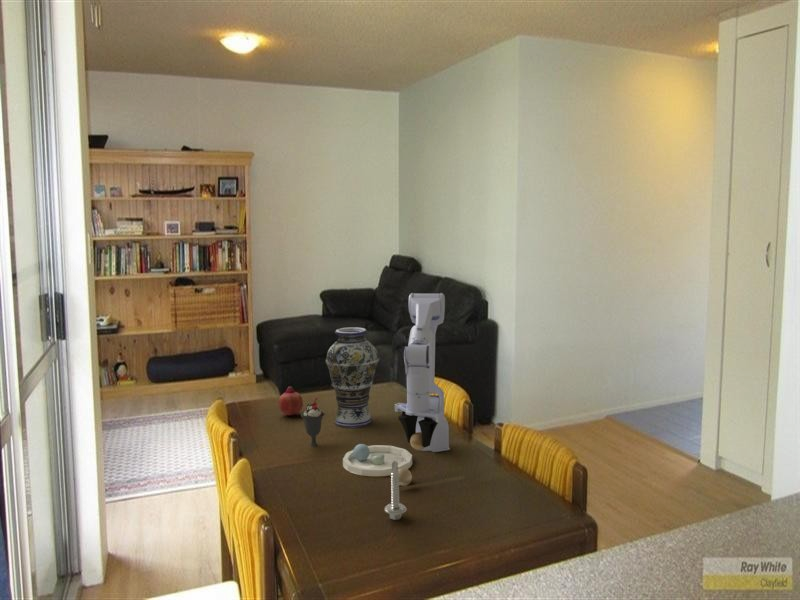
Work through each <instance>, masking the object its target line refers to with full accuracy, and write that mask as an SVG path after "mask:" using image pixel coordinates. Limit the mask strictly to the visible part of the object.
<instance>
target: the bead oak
mask: <svg viewBox="0 0 800 600" xmlns="http://www.w3.org/2000/svg"><path fill="white" fill-rule="evenodd" d="M409 444H410V446H411V447H412V449H414V450H416V451H423V450H422V449H424V448H425V447H423V445H422V433H421V432H417V433H414V434H413V435H412V436H411V439H410V443H409Z"/></svg>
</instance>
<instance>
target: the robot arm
mask: <svg viewBox="0 0 800 600" xmlns="http://www.w3.org/2000/svg"><path fill="white" fill-rule="evenodd" d="M445 299H446V297H445V294H444V293H443V292H440V293H414V292H411V293H409V296H408V313H409V317H410V319H411V322H412V323H413V324H414V325H413V326H412V327H411V329H410V332H409V337H408V344H407V346H404V351H403V361H404V368H405V369H404V370H405V375H406V403H403V402H397V403H395V404H394V412H396V413H399V412H401V415H398V420H399V421H400V423H401V425H402V427H403V430H404V433H405V435H406V440H407V443H408V444H411V443H410V439H411V436H412V435H413V434H414V433H417V432H421V433H422V445H423V447H425V448H424V449H422V450H421V451H424V452H425V451H427V452H428V451H429V452H433V453H439V452H440V453H441V452H445V451H450V450H451V448H450V437H449V435H450V431H449V428H450V427H449V422H448V420H447V418H446V417H445V416H444V415H445V392H444V389H443V388H441V387H440V386H439V385H438V384H436V383H435V374H436V373H435V371H436V370H435V369H436V367H435V366H436V365H435V364H436V362H435V361H436V334H437V329H438V326H439V325H441V324H443V323H444V320H445V309H446V307H445V305H446V300H445Z"/></svg>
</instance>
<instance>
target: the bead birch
mask: <svg viewBox="0 0 800 600" xmlns="http://www.w3.org/2000/svg"><path fill="white" fill-rule="evenodd" d="M398 471H399V473H398V474H399V478H398V479H399V487H400V488H401V487H407V486H409V485H410V484H411V482H412V480H413V476H412V473H411V471H410V470H409V469H406V468H400V469H398Z"/></svg>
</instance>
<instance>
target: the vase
mask: <svg viewBox="0 0 800 600" xmlns="http://www.w3.org/2000/svg"><path fill="white" fill-rule="evenodd" d="M367 333H368V330H367V329H366V328H365V327H364V328H363V327H355V326H353V327H349V326H348V327H342V328H341V327H340V328H338V329H336V330H335V331H334V334H335V335H337V336H338V339H337V340H336V341H335V342H334V343H333V344H332V345H331V346H330V347H329V349H328V350H327V353H326V358H325V364H326V366H327V369H328V372H329V376H330V379H331V387H333V390H334V392H335V398H336V399H335V400H336V403H337V404H336V405H337V410H336V411H337V412H336V415H335V419H334V425H335V426H337V427H339V428H346V429H357V428H362V427H363V428H364V427H366V426H369V425H371V424H372V422H373V420H372V417H371V413H370V409H369V400H370V392H371V387H372V385H373V384H374V377H375V373H376V370H377V367H378V364H379V362H380V357H379V354H378V350H377V348H375V346H374V345H373V344H372V343H371V342H370V341H369V340H368V339H367V338H365V337H364V336H365V335H366V334H367Z"/></svg>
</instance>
